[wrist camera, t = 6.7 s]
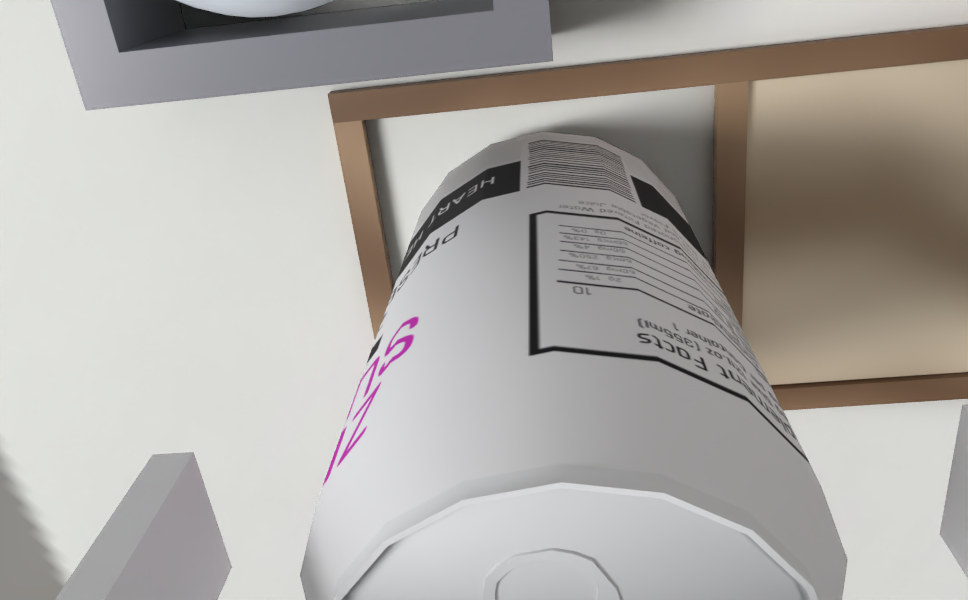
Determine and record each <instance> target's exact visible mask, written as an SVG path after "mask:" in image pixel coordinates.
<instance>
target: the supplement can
mask: <svg viewBox="0 0 968 600" xmlns="http://www.w3.org/2000/svg"><path fill="white" fill-rule="evenodd" d="M846 567H847V557H846V554H845V552H844V549H843V546H842V543H841V540H840V538H839V535H838V532H837V529H836V526H835V524H834V521H833V518H832V515H831V513H830V510H829V507H828V504H827V501H826V499H825V496H824V493H823V490H822V487H821V485H820V483H819V481H818V479H817V477H816V475H815V473H814V471H813V469H812V467H811V465H810V463H809V461H808V459H807V457H806V455H805V453H804V451H803V450H802V448H801V446H800V444H799V442H798V440H797V438H796V436H795V434H794V432H793V430H792V428H791V426H790V424H789V422H788V420H787V418H786V416H785V414H784V412H783V410H782V408H781V406H780V404H779V402H778V400H777V398H776V396H775V394H774V392H773V390H772V388H771V386H770V384H769V382H768V380H767V378H766V376H765V374H764V372H763V370H762V368H761V366H760V364H759V362H758V360H757V358H756V356H755V354H754V352H753V350H752V348H751V346H750V344H749V342H748V340H747V338H746V336H745V334H744V332H743V330H742V328H741V327H740V325H739V323H738V321H737V319H736V317H735V315H734V313H733V311H732V309H731V307H730V305H729V303H728V301H727V299H726V297H725V295H724V293H723V291H722V289H721V287H720V285H719V283H718V281H717V279H716V277H715V275H714V273H713V271H712V269H711V267H710V265H709V263H708V261H707V259H706V257H705V255H704V253H703V251H702V249H701V247H700V245H699V243H698V241H697V239H696V237H695V235H694V233H693V231H692V229H691V227H690V225H689V223H688V221H687V219H686V217H685V215H684V213H683V211H682V209H681V207H680V205H679V203H678V202H677V200H676V198H675V196H674V194H673V193H672V192H671V191H670V190H669V189H668V188H667V187H666V186H665V185H664V184H663V183H662V181H661V180H660V179H659V178H658V177H657V176H656V175H655V174H654V173H653V172H652V171H651V170H650V169H649V167H648V166H647V165H646V164H645V163H644V162H643V161H642V160H641V159H639V158H637V157H635V156H633V155H631V154H629V153H627V152H625V151H623V150H621V149H619V148H617V147H615V146H613V145H611V144H608V143H606V142H604V141H602V140H600V139H598V138H596V137H592V136H582V135H572V134H562V133H552V132H543V131H542V132H538V133H534V134H530V135H526V136H522V137H518V138H514V139H510V140H506V141H502V142H498V143H494V144H491V145H489V146H488V147H486V148H485V149H483V150H482V151H480V152H479V153H477V154H476V155H474V156H473V157H471V158H470V159H468V160H467V161H465V162H464V163H462V164H461V165H459V166H458V167H457V168H455V169H454V170H452V171H451V172H449V173H448V175H447V176H446V178H445V179H444V180H443V182H442V183H441V185H440V186H439V187H438V189H437V190H436V192H435V193H434V194H433V196H432V197H431V199H430V200H429V202H428V203H427V204H426V206H425V207H424V209H423V210H422V211H421V214H420V217H419V219H418V222H417V225H416V228H415V231H414V233H413V236H412V239H411V242H410V244H409V247H408V250H407V253H406V256H405V258H404V261H403V264H402V267H401V269H400V272H399V275H398V278H397V281H396V283H395V286H394V289H393V292H392V295H391V297H390V300H389V303H388V306H387V308H386V311H385V314H384V317H383V320H382V322H381V325H380V328H379V331H378V333H377V336H376V339H375V342H374V345H373V347H372V350H371V353H370V356H369V359H368V361H367V364H366V367H365V370H364V372H363V375H362V378H361V381H360V384H359V386H358V389H357V392H356V395H355V397H354V400H353V403H352V406H351V409H350V411H349V414H348V417H347V420H346V423H345V425H344V428H343V431H342V434H341V436H340V439H339V442H338V445H337V448H336V450H335V453H334V456H333V459H332V461H331V464H330V467H329V470H328V473H327V475H326V478H325V481H324V484H323V486H322V489H321V492H320V495H319V498H318V500H317V503H316V507H315V511H314V516H313V520H312V525H311V529H310V533H309V538H308V542H307V547H306V551H305V556H304V560H303V564H302V569H301V573H300V577H301V581H302V585H303V589H304V593H305V598H306V600H842V596H843V589H844V581H845V574H846Z"/></svg>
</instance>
